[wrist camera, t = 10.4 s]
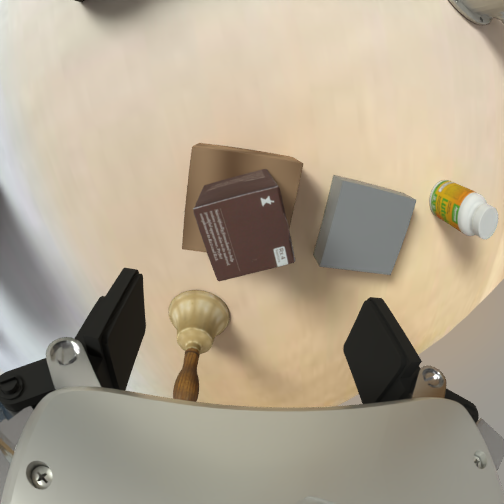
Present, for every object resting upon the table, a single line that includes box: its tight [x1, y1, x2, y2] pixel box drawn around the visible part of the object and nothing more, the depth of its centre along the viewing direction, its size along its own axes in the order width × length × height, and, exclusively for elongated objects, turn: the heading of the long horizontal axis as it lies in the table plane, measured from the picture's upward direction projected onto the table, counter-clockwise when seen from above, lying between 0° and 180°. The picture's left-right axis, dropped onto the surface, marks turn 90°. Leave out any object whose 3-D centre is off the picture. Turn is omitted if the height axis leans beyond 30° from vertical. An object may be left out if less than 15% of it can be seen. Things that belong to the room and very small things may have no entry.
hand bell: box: [169, 290, 229, 402], centre depth 30 cm, size 8×8×16 cm
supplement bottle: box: [429, 180, 498, 239], centre depth 27 cm, size 5×5×10 cm
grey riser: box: [313, 175, 416, 275], centre depth 31 cm, size 10×10×3 cm
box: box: [193, 169, 295, 281], centre depth 23 cm, size 6×6×7 cm
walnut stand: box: [182, 143, 303, 252], centre depth 28 cm, size 10×10×5 cm
